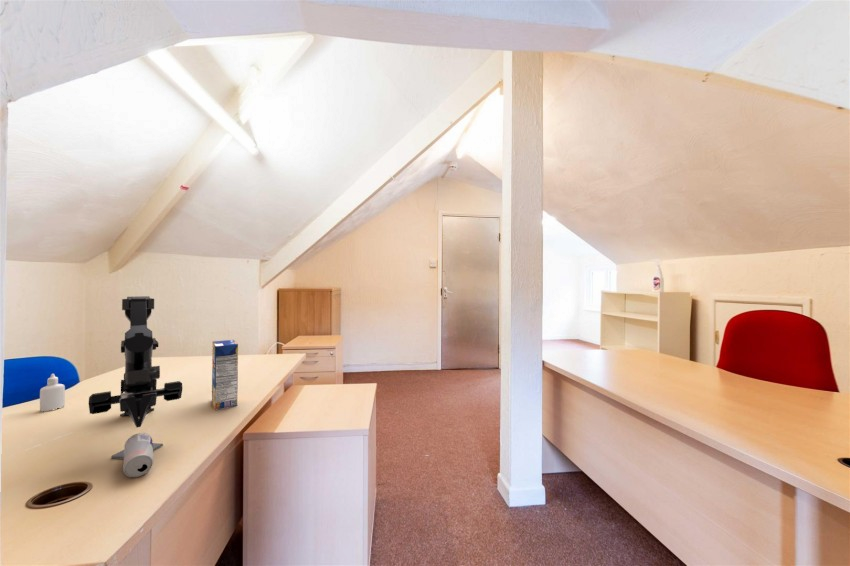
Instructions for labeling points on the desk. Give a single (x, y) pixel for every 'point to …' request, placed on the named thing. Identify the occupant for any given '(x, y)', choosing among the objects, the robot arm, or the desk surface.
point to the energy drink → (138, 455)
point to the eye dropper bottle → (52, 395)
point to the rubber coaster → (121, 454)
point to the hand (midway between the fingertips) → (138, 426)
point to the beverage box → (224, 374)
